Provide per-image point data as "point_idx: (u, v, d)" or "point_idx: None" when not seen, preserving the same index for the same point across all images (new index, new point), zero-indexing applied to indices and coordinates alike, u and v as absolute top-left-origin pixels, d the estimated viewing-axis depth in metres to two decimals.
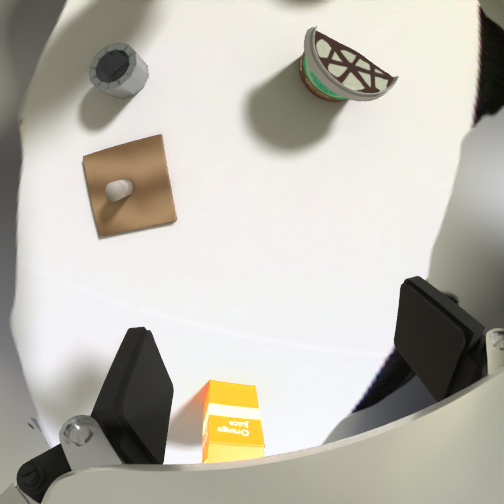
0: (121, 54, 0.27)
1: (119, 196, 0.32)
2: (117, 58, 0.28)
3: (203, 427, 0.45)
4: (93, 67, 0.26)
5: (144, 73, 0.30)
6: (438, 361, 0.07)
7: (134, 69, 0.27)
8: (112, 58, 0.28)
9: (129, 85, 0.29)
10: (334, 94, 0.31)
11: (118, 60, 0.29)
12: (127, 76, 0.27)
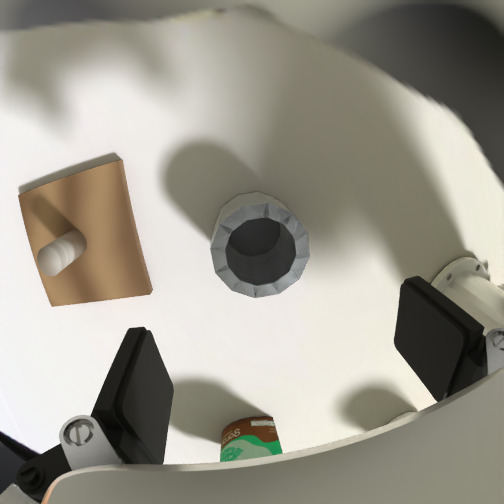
0: (289, 246, 0.21)
1: (44, 271, 0.18)
2: (285, 231, 0.22)
3: None
4: (267, 212, 0.18)
5: None
6: (438, 361, 0.07)
7: (245, 293, 0.20)
8: None
9: None
10: (220, 461, 0.28)
11: (283, 226, 0.23)
12: (232, 284, 0.20)
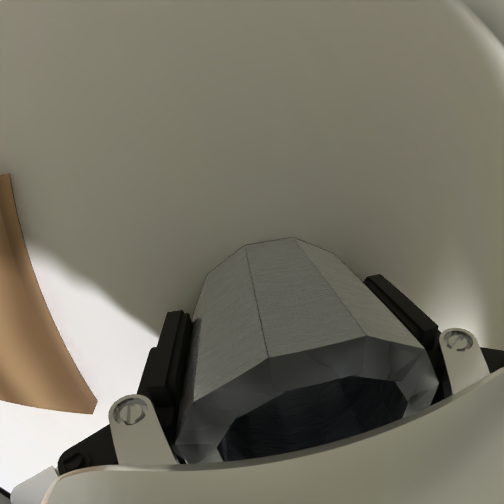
0: (368, 381, 0.08)
1: None
2: None
3: None
4: (359, 361, 0.05)
5: None
6: None
7: None
8: None
9: None
10: None
11: None
12: None
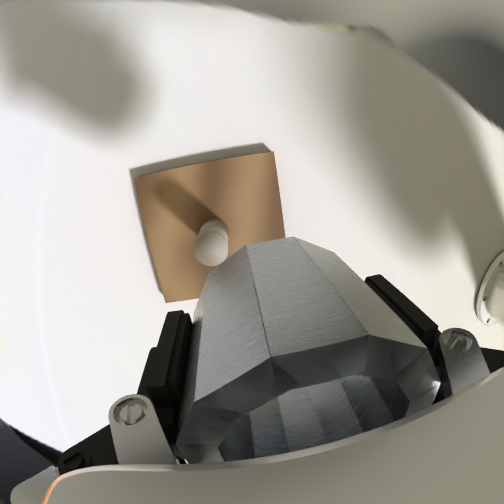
0: (370, 381, 0.08)
1: (202, 260, 0.20)
2: None
3: None
4: (361, 361, 0.05)
5: None
6: None
7: None
8: None
9: None
10: None
11: None
12: None
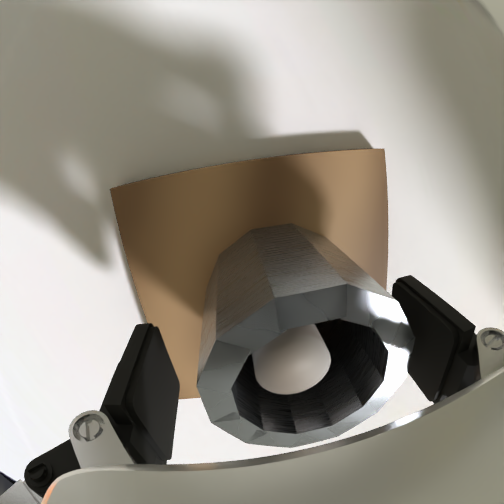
0: (358, 344, 0.10)
1: (272, 387, 0.09)
2: None
3: None
4: (343, 306, 0.07)
5: None
6: (429, 360, 0.07)
7: (273, 441, 0.09)
8: None
9: None
10: None
11: None
12: (248, 435, 0.08)
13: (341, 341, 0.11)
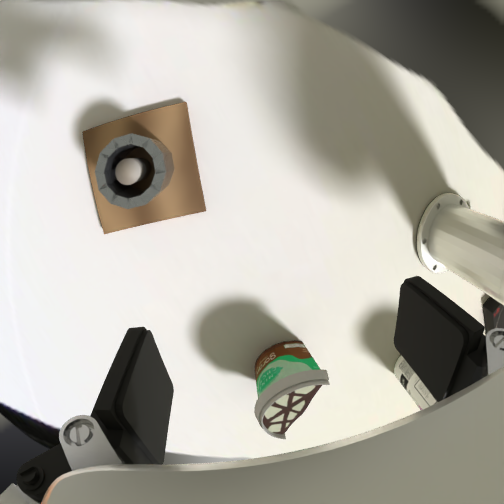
0: None
1: (121, 180, 0.23)
2: None
3: None
4: (131, 140, 0.21)
5: None
6: (438, 361, 0.07)
7: (121, 206, 0.23)
8: None
9: None
10: (259, 386, 0.34)
11: None
12: (111, 198, 0.23)
13: None
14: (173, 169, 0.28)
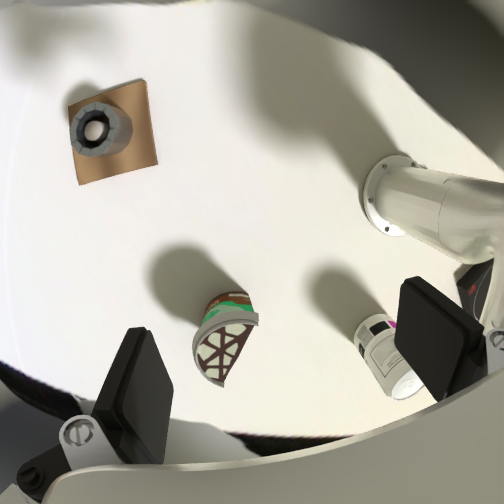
0: None
1: (88, 137, 0.28)
2: None
3: None
4: (95, 106, 0.26)
5: (101, 156, 0.32)
6: (438, 361, 0.07)
7: (86, 155, 0.28)
8: None
9: None
10: None
11: None
12: (79, 149, 0.27)
13: None
14: (131, 131, 0.32)
